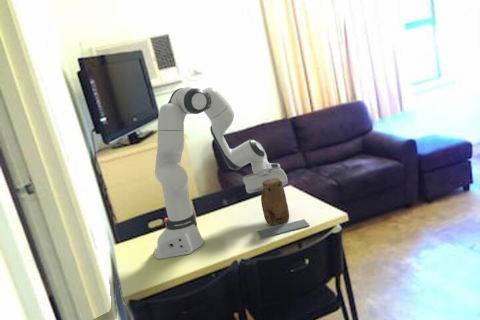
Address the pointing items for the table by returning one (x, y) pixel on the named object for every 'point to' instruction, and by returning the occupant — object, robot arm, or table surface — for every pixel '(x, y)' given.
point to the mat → (282, 228)
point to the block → (274, 202)
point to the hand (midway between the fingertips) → (270, 196)
